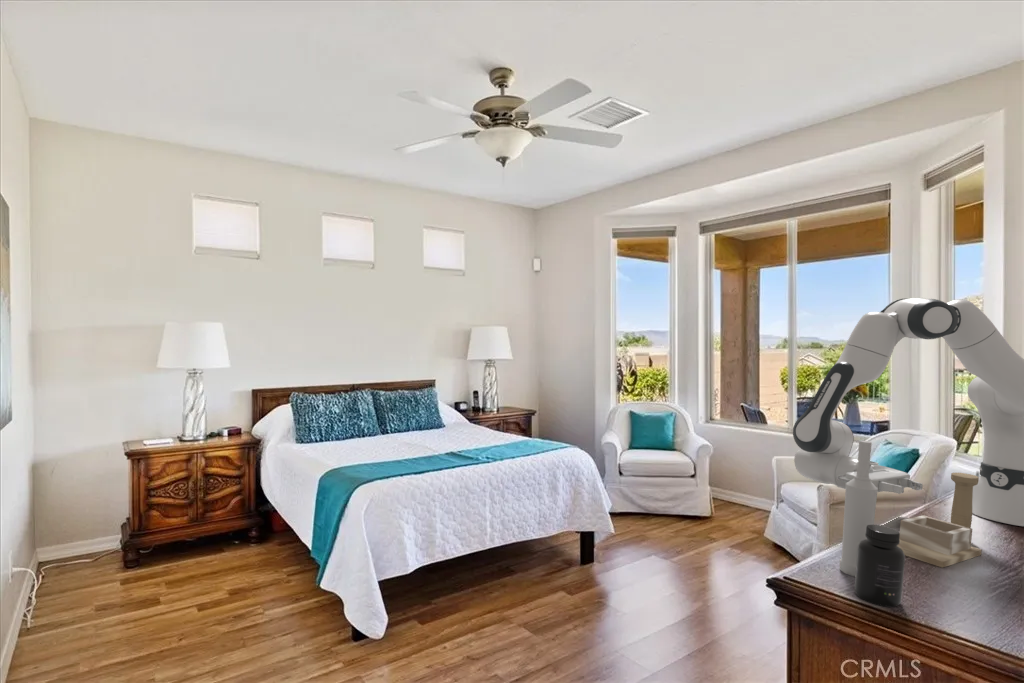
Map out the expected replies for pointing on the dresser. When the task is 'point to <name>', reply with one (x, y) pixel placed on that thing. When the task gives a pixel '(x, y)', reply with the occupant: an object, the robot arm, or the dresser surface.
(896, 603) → the supplement bottle
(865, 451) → the bottle
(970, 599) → the dresser surface
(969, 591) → the dresser surface
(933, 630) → the dresser surface
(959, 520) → the handle
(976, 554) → the tool holder
